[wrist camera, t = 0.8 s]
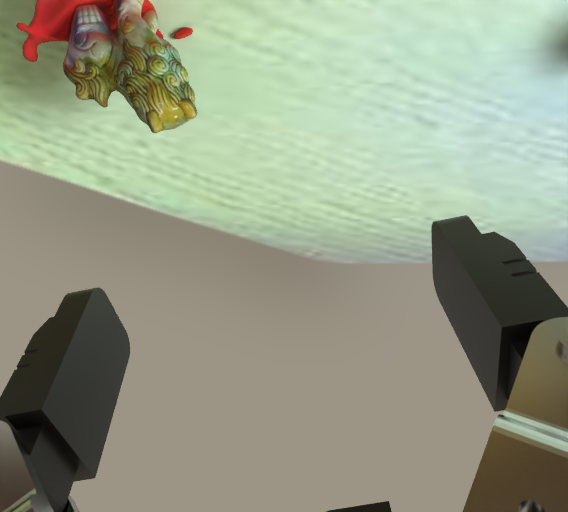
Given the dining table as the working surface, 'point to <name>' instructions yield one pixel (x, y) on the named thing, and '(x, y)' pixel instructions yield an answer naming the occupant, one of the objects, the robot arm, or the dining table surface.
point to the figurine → (117, 56)
